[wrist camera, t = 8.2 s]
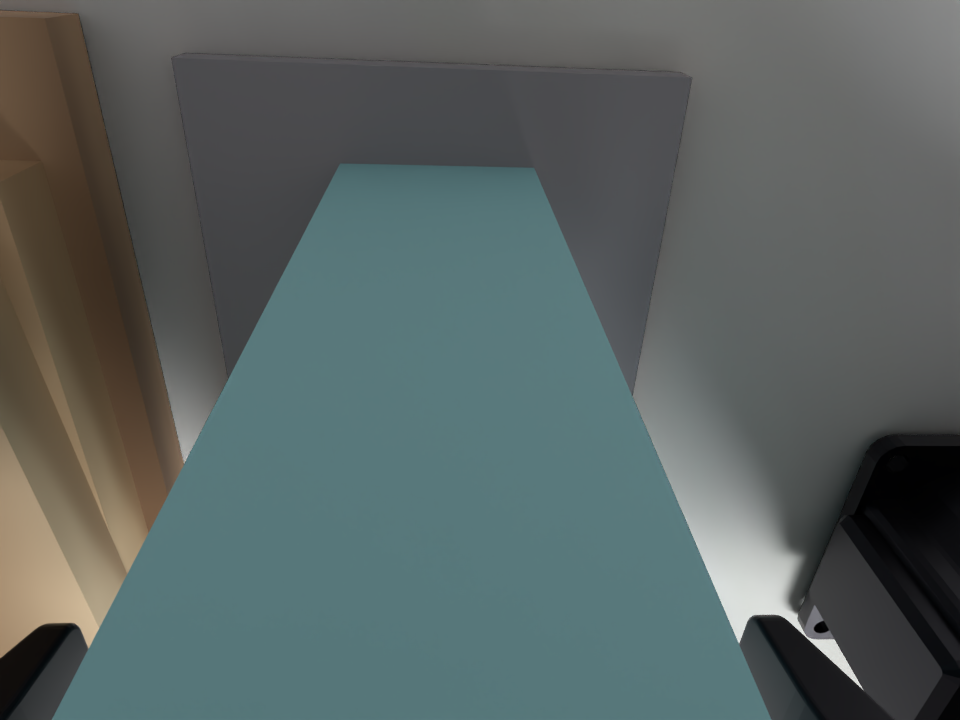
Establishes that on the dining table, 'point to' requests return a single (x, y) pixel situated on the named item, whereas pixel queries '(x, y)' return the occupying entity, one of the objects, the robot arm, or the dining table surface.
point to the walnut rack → (90, 228)
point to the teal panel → (421, 495)
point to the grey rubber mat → (429, 161)
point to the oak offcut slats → (54, 432)
